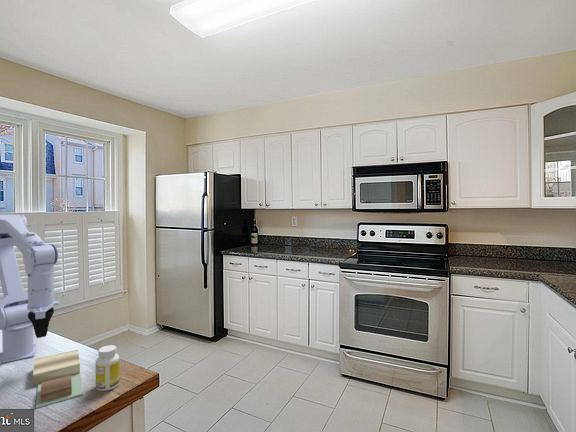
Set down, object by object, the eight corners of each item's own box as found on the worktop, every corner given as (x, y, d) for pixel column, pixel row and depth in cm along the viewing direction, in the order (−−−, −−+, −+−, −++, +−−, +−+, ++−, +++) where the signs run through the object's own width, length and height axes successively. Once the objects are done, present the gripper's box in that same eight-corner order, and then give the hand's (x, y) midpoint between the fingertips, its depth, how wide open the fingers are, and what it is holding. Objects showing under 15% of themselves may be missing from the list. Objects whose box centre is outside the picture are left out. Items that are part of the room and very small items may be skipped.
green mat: (38, 385, 81) (38, 384, 81) (80, 374, 86) (80, 373, 86) (35, 408, 72) (35, 406, 72) (82, 395, 77) (82, 393, 77)
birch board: (35, 369, 88) (35, 358, 88) (77, 359, 94) (77, 349, 94) (33, 386, 80) (32, 375, 80) (79, 374, 86) (79, 363, 86)
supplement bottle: (120, 377, 85) (120, 342, 85) (119, 388, 80) (119, 351, 80) (96, 382, 83) (96, 345, 82) (94, 393, 78) (94, 355, 78)
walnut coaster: (40, 394, 73) (40, 403, 73) (71, 386, 77) (71, 394, 77) (41, 382, 78) (41, 390, 78) (71, 375, 82) (71, 382, 82)
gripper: (59, 292, 84) (59, 342, 85) (58, 281, 96) (58, 325, 96) (24, 296, 80) (25, 349, 80) (28, 284, 92) (29, 330, 92)
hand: (41, 336), depth 88 cm, fingers closed
